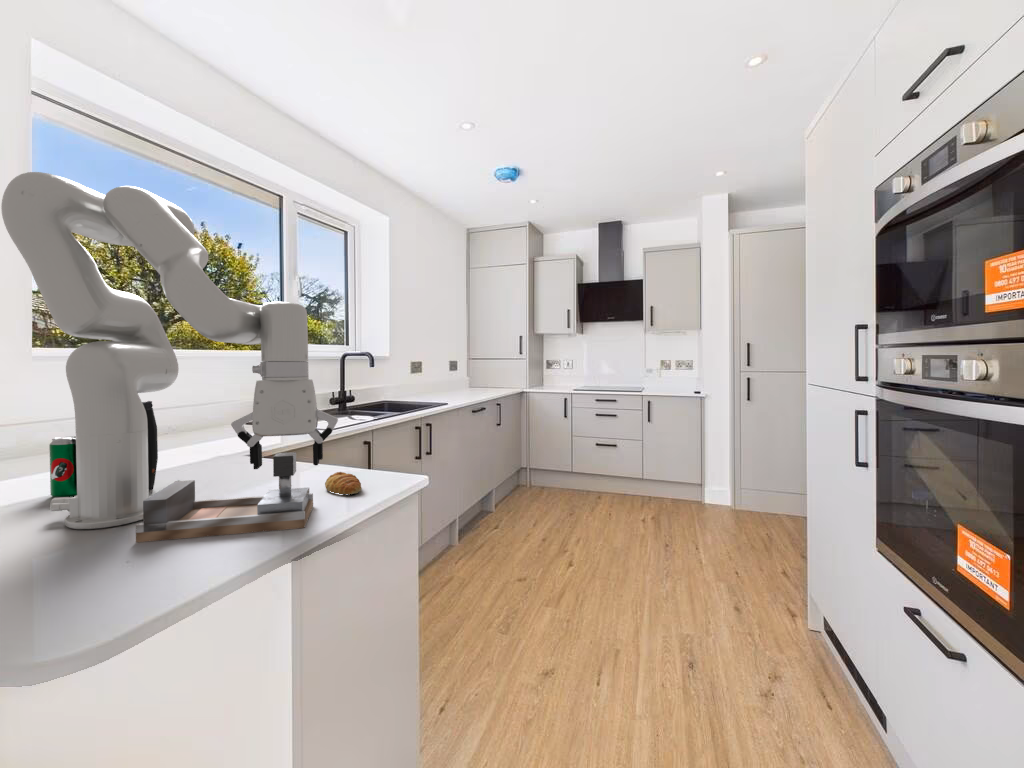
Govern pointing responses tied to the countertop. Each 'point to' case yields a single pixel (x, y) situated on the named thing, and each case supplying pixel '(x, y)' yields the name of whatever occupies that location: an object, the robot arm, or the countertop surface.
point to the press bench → (208, 515)
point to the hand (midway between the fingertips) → (287, 465)
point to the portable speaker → (151, 443)
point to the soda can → (63, 467)
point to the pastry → (343, 483)
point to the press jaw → (284, 488)
